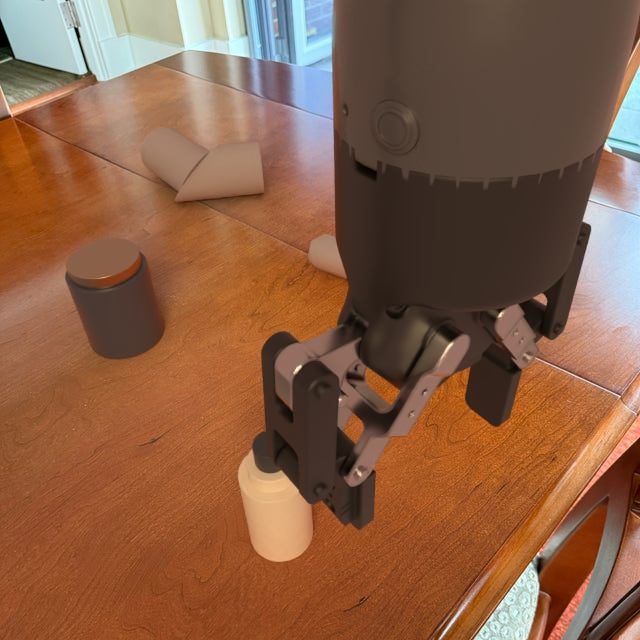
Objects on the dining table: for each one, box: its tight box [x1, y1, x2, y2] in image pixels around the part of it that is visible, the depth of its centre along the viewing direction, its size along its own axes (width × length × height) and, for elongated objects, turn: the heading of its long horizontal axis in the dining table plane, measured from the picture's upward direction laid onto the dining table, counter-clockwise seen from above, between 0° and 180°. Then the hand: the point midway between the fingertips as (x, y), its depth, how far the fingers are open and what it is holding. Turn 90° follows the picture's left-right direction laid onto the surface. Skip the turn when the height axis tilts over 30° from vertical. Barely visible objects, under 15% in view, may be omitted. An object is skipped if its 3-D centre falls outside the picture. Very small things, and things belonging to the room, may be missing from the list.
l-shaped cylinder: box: [140, 126, 265, 203], centre depth 100 cm, size 18×10×20 cm
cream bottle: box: [237, 430, 314, 563], centre depth 49 cm, size 6×6×12 cm
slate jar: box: [64, 237, 165, 360], centre depth 71 cm, size 9×9×12 cm
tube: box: [307, 233, 347, 281], centre depth 78 cm, size 5×5×25 cm
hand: (422, 459), depth 27 cm, fingers open, 8 cm apart
